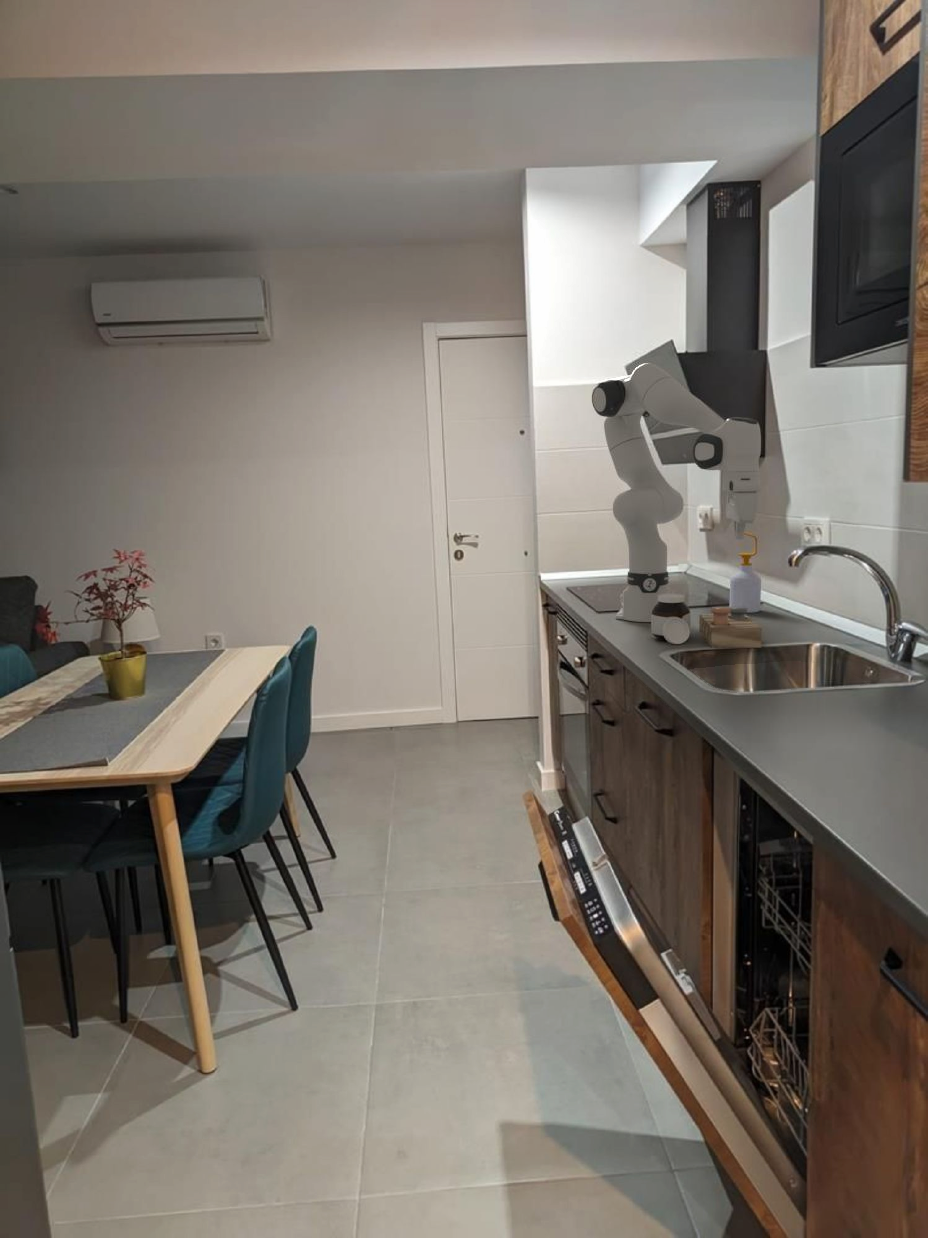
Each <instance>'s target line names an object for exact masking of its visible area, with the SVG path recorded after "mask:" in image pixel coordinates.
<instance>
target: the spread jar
mask: <svg viewBox="0 0 928 1238" xmlns="http://www.w3.org/2000/svg"><path fill="white" fill-rule="evenodd" d="M650 629H651V634H652V636H653V637H654V638H656V640H659V641H662V642H668V643H669V644H672V645H681V644H683V643H685V642H686V641H687V640H688V639H689V637H690V634H691V633H690V632H691V609H690V607H689V605H687V604H686V603H685V595H684V594H679V593H678V594H677V593H673V594H661V595H658V603H657V604H656V605H655V606H654V608H653V610H652V614H651V622H650Z"/></svg>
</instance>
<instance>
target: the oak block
mask: <svg viewBox="0 0 928 1238" xmlns="http://www.w3.org/2000/svg"><path fill="white" fill-rule="evenodd" d="M730 618H731V613H728V626H713V613H708V614H707V613H705V614H704V613H701V614H699V624H698V625H699V627H698V629H699V630H698V633H701V634H700V635H701V636H702V638H705V639H704V640H705V642H706V643H707V644H708V643H709V644H710V645H711V646H712V647H735V649H736V648H762V633H763V632H762V631H763V630H762V626H760V625H759V624H758V623H757V622H756V621H754V620H753V619H752V618H751V617H749V616H748V615H747V613H745V619H730ZM709 644H708V645H709ZM710 645H709V646H710ZM711 646H710V647H711ZM712 647H711V648H712Z"/></svg>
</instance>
